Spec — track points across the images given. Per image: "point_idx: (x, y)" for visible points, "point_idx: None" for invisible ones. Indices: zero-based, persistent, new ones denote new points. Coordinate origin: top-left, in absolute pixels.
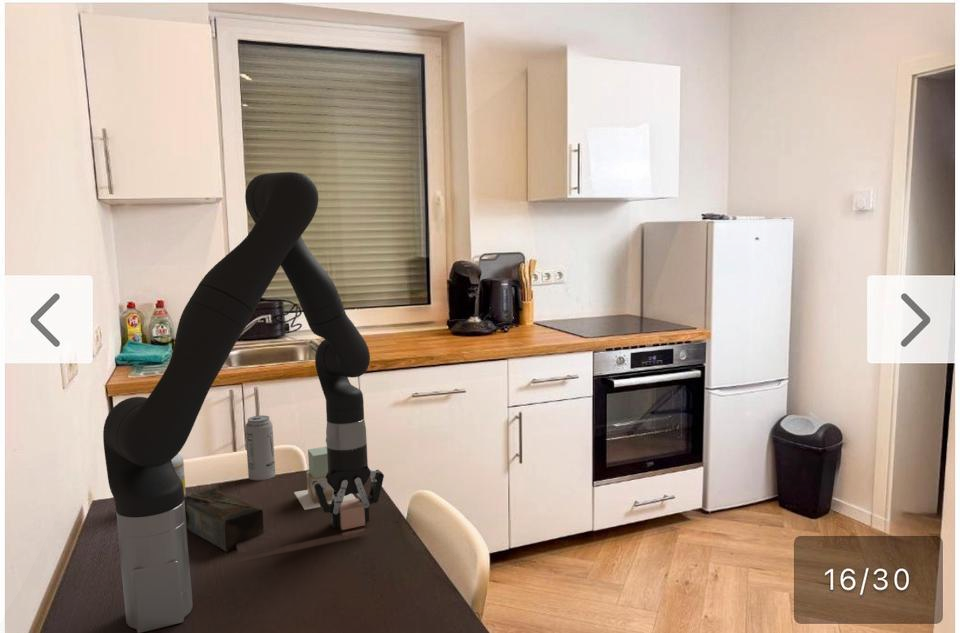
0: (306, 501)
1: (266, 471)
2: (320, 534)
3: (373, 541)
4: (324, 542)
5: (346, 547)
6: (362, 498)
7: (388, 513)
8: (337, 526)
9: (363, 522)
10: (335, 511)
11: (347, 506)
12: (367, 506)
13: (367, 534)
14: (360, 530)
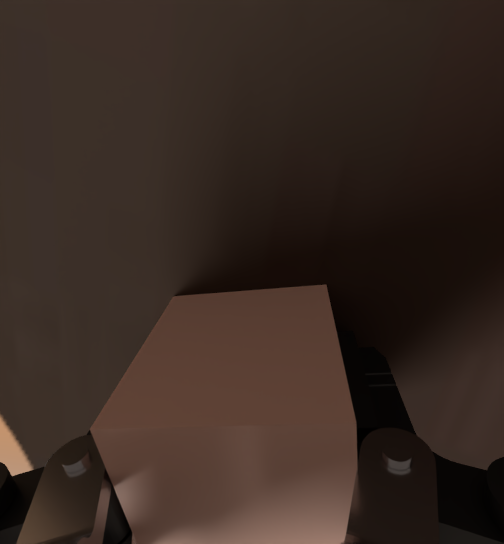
0: None
1: None
2: (451, 358)
3: (128, 110)
4: (469, 236)
5: (341, 78)
6: (70, 541)
7: (42, 442)
8: (357, 351)
9: (164, 328)
10: (408, 448)
11: (264, 488)
12: (79, 446)
13: (163, 243)
14: (202, 299)
